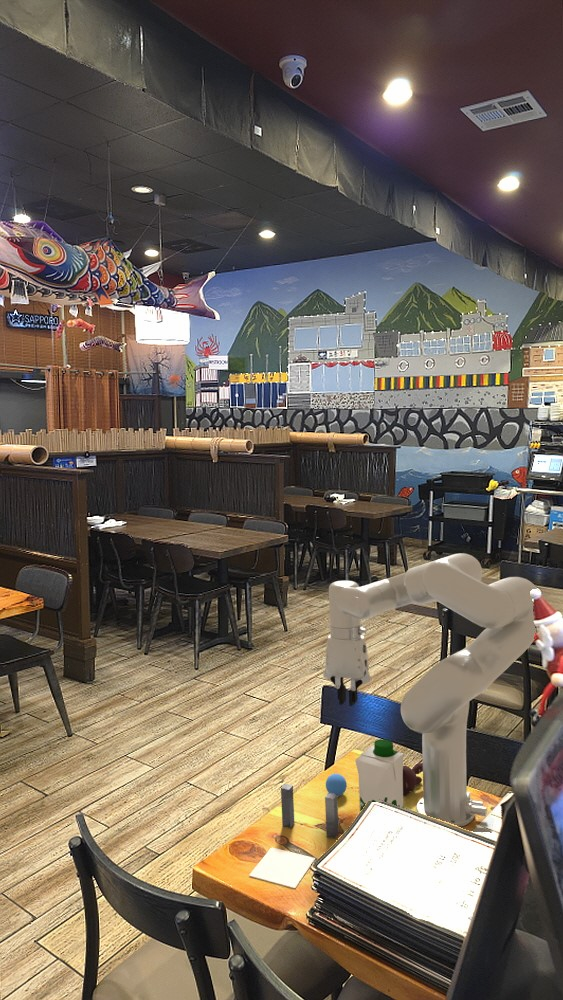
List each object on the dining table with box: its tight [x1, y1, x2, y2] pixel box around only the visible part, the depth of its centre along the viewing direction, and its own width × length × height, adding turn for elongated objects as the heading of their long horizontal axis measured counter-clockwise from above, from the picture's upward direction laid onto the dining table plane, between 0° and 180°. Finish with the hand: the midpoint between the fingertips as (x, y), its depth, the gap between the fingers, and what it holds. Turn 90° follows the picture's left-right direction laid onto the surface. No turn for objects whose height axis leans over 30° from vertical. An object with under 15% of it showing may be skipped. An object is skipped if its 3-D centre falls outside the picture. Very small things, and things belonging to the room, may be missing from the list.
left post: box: [280, 783, 295, 829], centre depth 154 cm, size 2×2×9 cm
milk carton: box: [355, 738, 405, 812], centre depth 148 cm, size 9×9×20 cm
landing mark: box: [248, 847, 316, 890], centre depth 140 cm, size 10×10×1 cm
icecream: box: [403, 762, 423, 797], centre depth 166 cm, size 7×7×15 cm
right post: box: [324, 792, 340, 840], centre depth 150 cm, size 2×2×9 cm
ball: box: [325, 773, 348, 797], centre depth 166 cm, size 5×5×5 cm
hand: (347, 703), depth 173 cm, fingers closed
